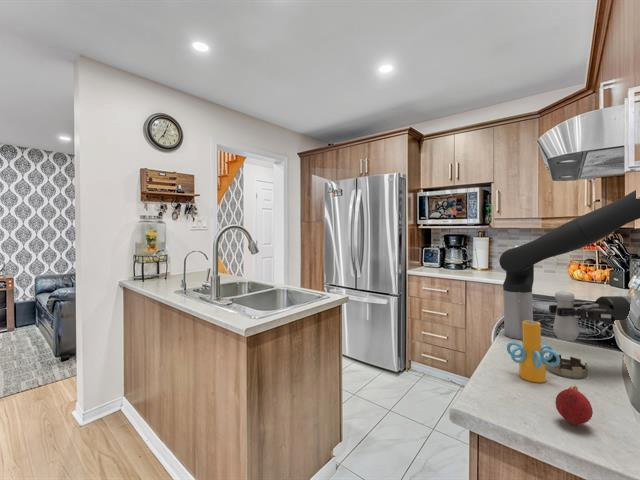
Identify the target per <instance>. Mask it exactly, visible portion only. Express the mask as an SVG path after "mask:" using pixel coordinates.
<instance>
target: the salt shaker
mask: <svg viewBox="0 0 640 480" xmlns="http://www.w3.org/2000/svg"><path fill="white" fill-rule="evenodd" d="M554 298H555V300H556V301H557V303H556V305H557V308H573V304H572V301H575V294H574V293H573V292H571V291H564V290H563V291H556V292H555V293H554ZM554 314H555V316H554V319H553V320H554V321H553V328H552V329H553V332H554V334H555V335H556V337H557V339H558V340H562V341H566V342H568V341H569V342H572V341H573V342H574V341H576V340H577V338H578V336H579V335H580V328H579V324H578V321H577V318H576V317H574V316H558V315H557V309H556V313H554Z"/></svg>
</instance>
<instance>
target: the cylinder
mask: <svg viewBox="0 0 640 480" xmlns="http://www.w3.org/2000/svg"><path fill="white" fill-rule="evenodd" d="M522 327H523V339H522V344H520V343H518V342H516V341H511V342H509V343H508V344H507V345H506V351H507V353H508V354H509V355H510V357H511V360H512V361H513V362H515V363H516V364H518V367H519V368H518V373H519V377H520V378H521V379H523V380H525V381H528V382H531V383H539V384H540V383H544V382H546V381H547V369H546V365H548V366H552V367H554V366H557V365H559V363H560V357H559V355H560V354H558V353H557V352H556V351H555V350H553V348H552V347H551V346H550V345H548V344H543V345H542V339H541V338H542V337H541V335H542V333H541V331H542V330H541V329H542V328H541V322H539V321H535V320H533V321H528V320H526V321H522ZM512 346H516V347H515V348H513V349H512V350H511V347H512ZM518 351H520V353H519V354H516V352H518ZM548 353H549V354H548ZM545 354H548V355H547V356H548V357H546V356H545ZM553 355H555V357H556V362H555V363H549V362H547V361H548V360H550V359H551V358H552V357H553ZM544 356H545V357H546V358H545V357H544Z"/></svg>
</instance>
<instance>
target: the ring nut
mask: <svg viewBox="0 0 640 480" xmlns="http://www.w3.org/2000/svg"><path fill="white" fill-rule="evenodd" d="M558 355H559V357H560V363H559V365H557V366H554V367H552V366H548V365H546V371H548V372H549V373H551V374H553V375H556V376H559V377H562V378H566V379H573V380H574V379H575V380H583V379H587V378H589V365H588V364H589V363H588V362H584V364H583V363H582V360H581V358H577V357H574V356H570V357H569V358H568V359H567V358H562V355H561V354H558ZM548 356H549V355H545V357H544V358H546V357H548ZM547 362H549V363H555V362H556V357H555V355H553V357H552V358H551V359H550V360H548V361H547Z"/></svg>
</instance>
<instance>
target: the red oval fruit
mask: <svg viewBox="0 0 640 480" xmlns="http://www.w3.org/2000/svg"><path fill="white" fill-rule="evenodd" d="M555 408H556V410H557V412H558V414H559V415H560V417H562V418H563V419H564V420H565V421H566V422H567V423H569V424H571V425H572V426H579V425H582V424H585V423H587V422H589V421H590V420H591V419H592V417H593V413H594V412H593V408H592V405H591V402H590V400H589V399H588V398H587V396H586V395H585V394H583V393H582V392H581V391H579V388H578V386H576V385H575V384H570V386H569V387H568V388H565V389H564V390H561V391H560V392H558V394H557V395H556V398H555Z"/></svg>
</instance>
